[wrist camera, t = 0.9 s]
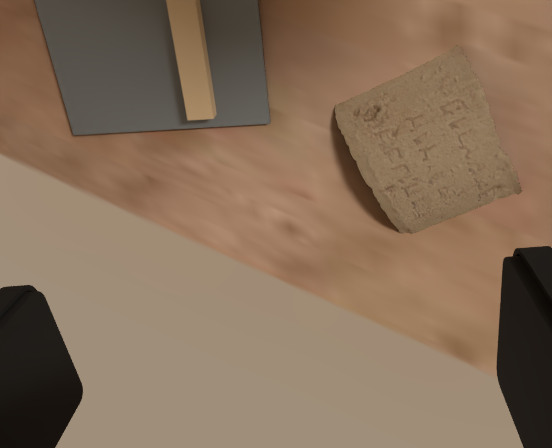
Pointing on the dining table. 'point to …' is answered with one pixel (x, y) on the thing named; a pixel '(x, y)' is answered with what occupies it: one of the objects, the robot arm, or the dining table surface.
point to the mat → (157, 63)
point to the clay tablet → (428, 144)
